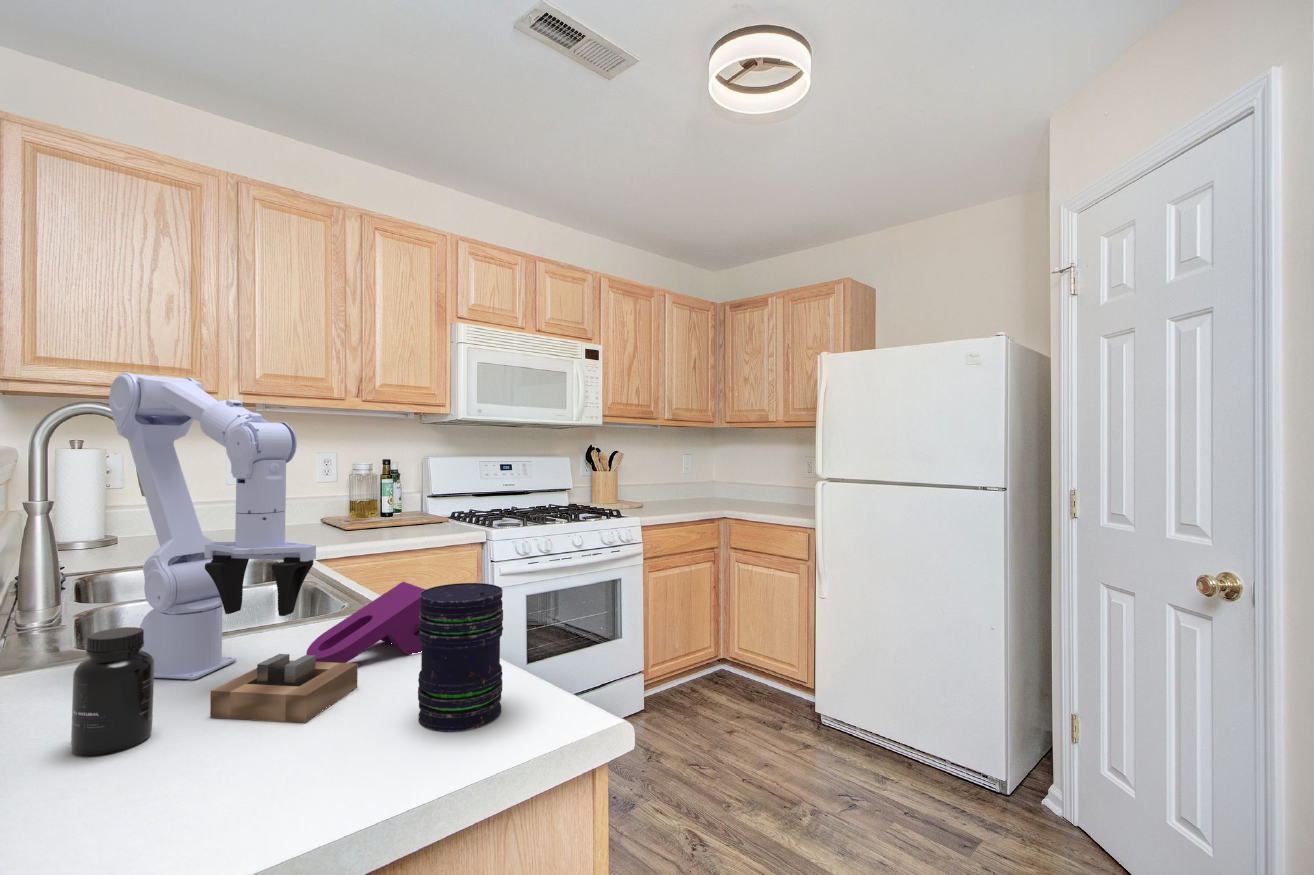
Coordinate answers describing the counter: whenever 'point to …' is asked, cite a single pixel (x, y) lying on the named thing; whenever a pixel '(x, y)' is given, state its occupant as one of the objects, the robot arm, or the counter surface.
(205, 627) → the robot arm
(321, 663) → the well block
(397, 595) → the mounting bracket
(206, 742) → the counter surface
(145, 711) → the supplement bottle
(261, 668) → the bracket
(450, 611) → the dark blue ribbed cylinder
